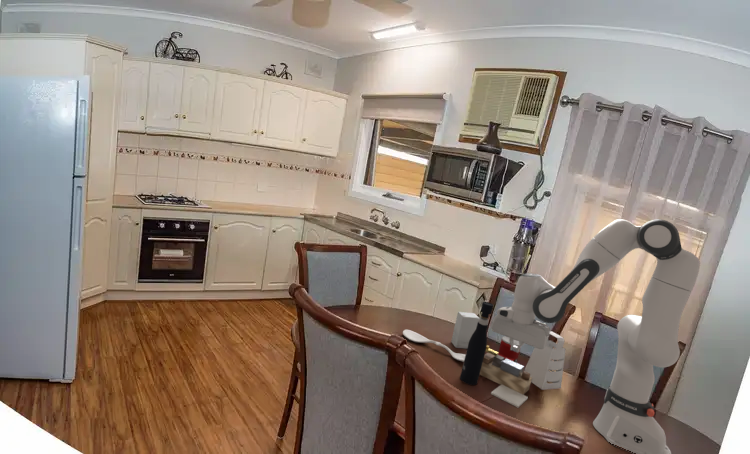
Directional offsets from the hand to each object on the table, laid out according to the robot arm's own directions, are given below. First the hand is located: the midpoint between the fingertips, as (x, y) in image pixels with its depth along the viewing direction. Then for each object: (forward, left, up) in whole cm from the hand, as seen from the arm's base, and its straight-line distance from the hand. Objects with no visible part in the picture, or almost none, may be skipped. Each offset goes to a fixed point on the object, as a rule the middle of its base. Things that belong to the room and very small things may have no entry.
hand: (514, 351), depth 162 cm
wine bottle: (+10, +13, -13) cm, 21 cm away
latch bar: (+9, 0, -4) cm, 10 cm away
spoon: (+31, 0, -14) cm, 34 cm away
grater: (-9, -16, -13) cm, 22 cm away
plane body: (+1, 0, -13) cm, 13 cm away
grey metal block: (-1, 0, -8) cm, 8 cm away
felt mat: (-5, +9, -13) cm, 17 cm away
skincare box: (+26, -15, -13) cm, 33 cm away
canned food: (+6, -16, -13) cm, 22 cm away
